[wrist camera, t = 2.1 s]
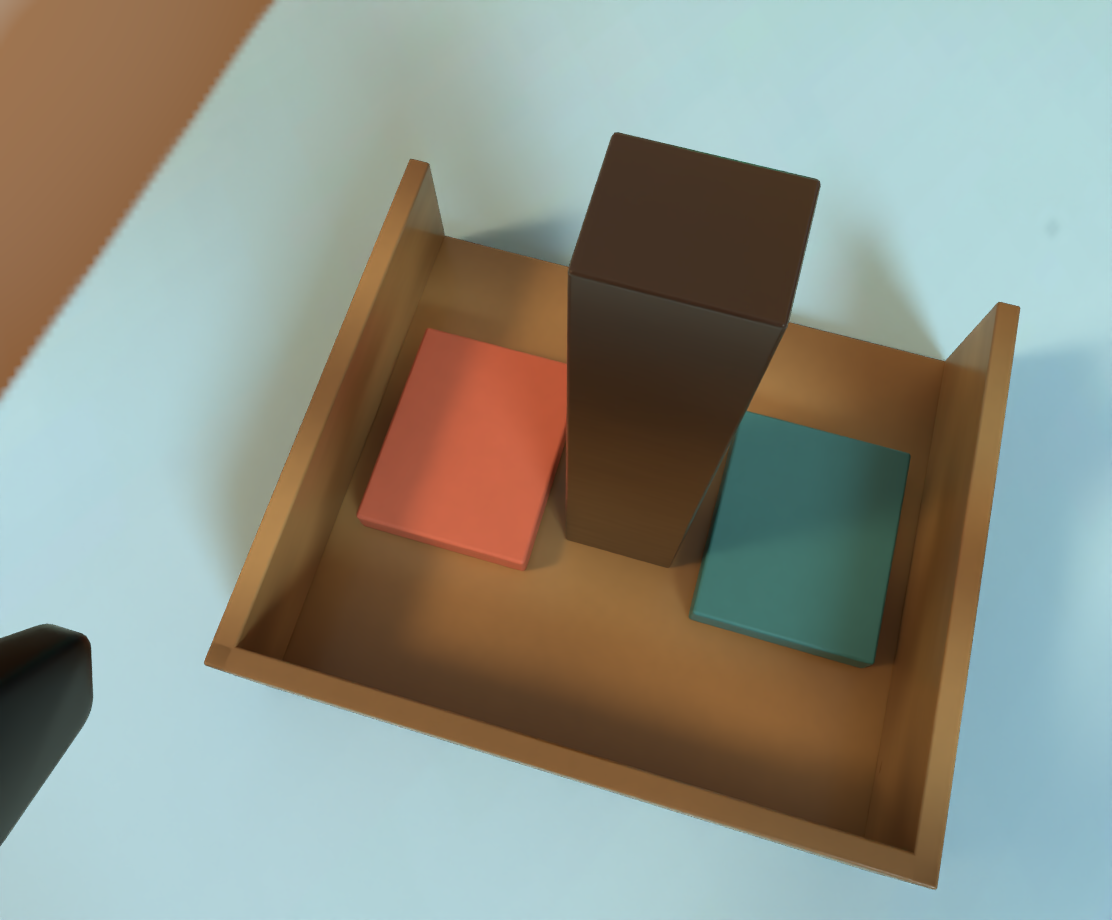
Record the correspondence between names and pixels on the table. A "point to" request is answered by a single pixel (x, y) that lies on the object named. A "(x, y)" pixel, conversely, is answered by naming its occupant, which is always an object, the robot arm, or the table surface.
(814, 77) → the table surface
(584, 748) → the tray
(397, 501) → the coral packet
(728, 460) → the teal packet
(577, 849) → the table surface
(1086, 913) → the table surface
